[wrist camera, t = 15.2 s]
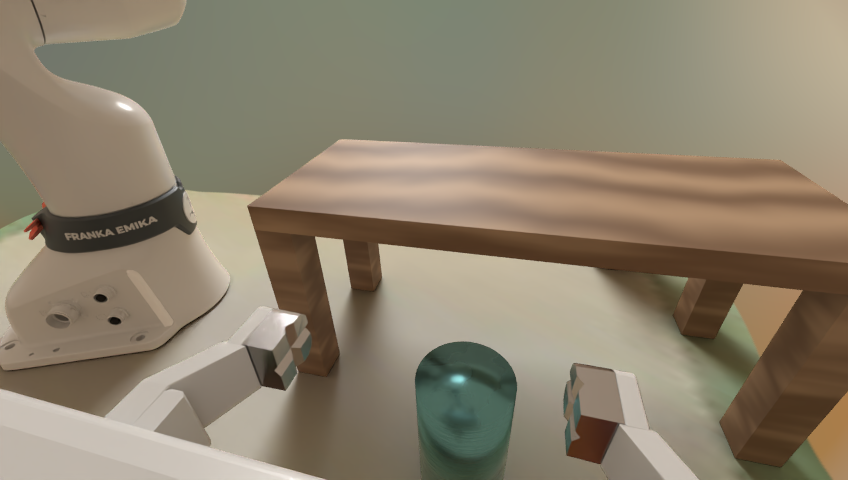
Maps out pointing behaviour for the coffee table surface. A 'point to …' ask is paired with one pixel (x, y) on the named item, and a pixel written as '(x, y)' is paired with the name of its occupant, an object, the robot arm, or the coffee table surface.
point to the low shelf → (590, 247)
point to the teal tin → (464, 412)
